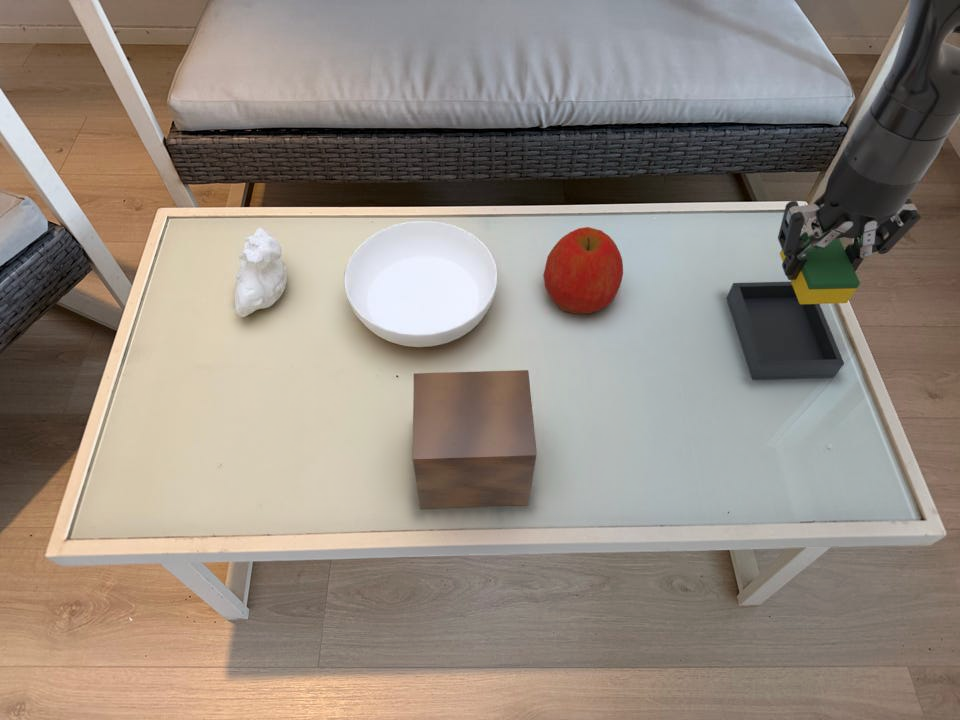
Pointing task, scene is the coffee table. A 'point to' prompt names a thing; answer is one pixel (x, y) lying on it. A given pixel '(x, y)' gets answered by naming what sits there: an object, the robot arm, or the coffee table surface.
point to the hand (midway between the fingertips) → (815, 273)
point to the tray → (782, 333)
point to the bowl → (421, 283)
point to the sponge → (826, 276)
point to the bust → (259, 274)
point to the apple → (583, 271)
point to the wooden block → (473, 439)
